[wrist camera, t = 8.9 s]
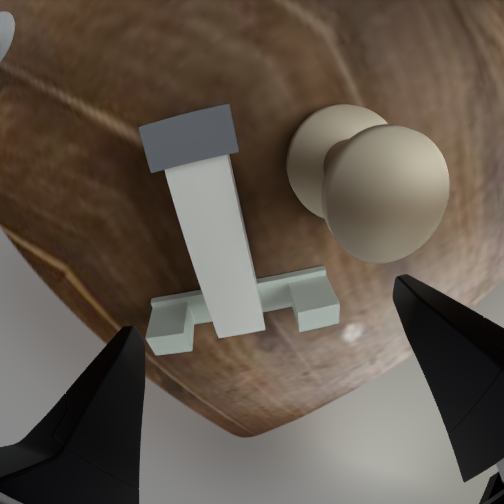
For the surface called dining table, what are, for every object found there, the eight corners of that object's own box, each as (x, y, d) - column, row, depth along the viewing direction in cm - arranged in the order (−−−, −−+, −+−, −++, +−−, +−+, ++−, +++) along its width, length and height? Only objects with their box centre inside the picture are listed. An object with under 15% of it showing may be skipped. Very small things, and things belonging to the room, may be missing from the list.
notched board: (151, 298, 23) (142, 333, 20) (323, 265, 23) (339, 297, 19) (164, 324, 25) (158, 359, 21) (324, 294, 24) (338, 327, 21)
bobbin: (277, 110, 17) (307, 123, 11) (391, 101, 16) (458, 116, 10) (293, 224, 21) (321, 285, 15) (393, 206, 21) (445, 254, 15)
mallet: (267, 293, 23) (275, 332, 19) (211, 303, 23) (210, 343, 19) (228, 104, 16) (229, 103, 12) (158, 121, 16) (138, 127, 12)
